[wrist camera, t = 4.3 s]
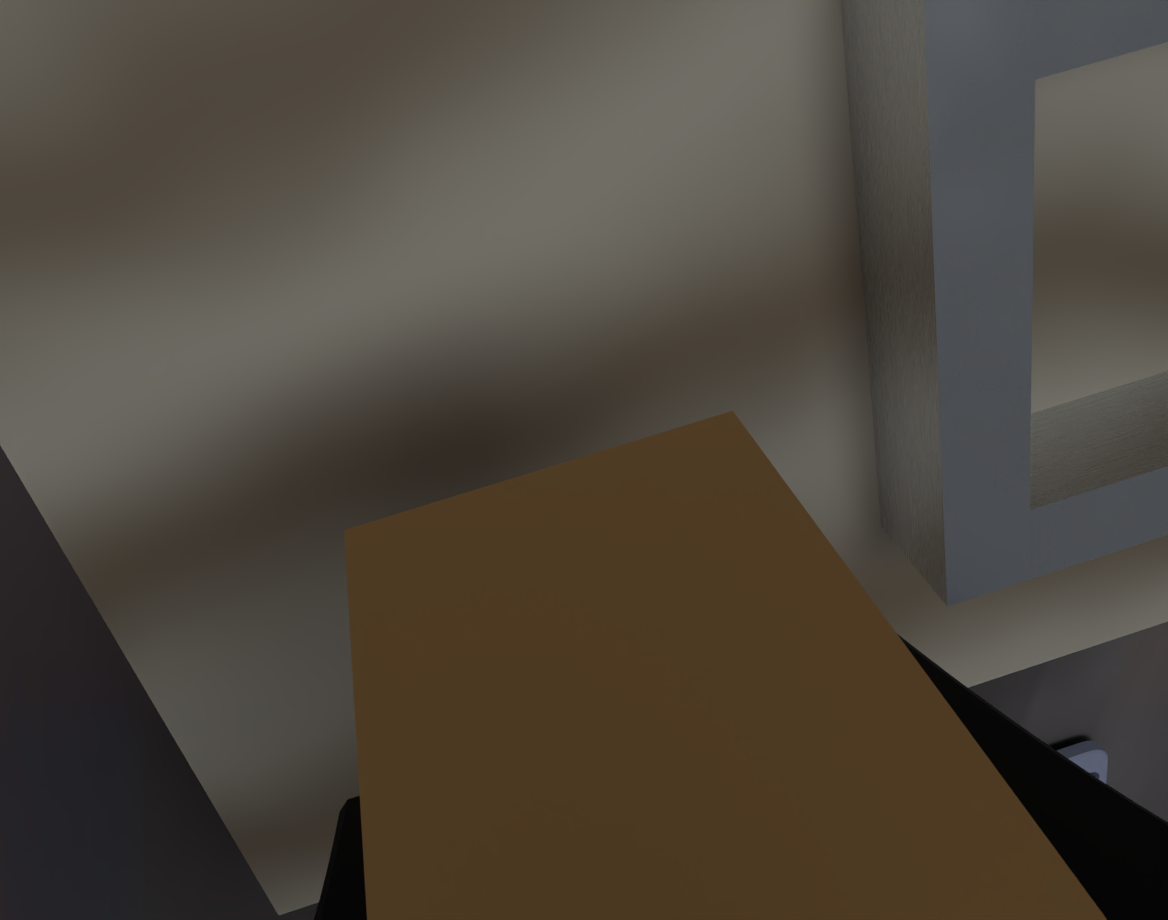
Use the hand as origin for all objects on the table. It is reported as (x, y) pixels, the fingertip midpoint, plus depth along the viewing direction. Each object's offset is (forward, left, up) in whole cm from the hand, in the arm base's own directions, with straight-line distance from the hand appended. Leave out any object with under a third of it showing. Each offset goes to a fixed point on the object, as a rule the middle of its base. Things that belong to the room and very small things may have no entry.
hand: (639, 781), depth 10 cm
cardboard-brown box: (0, 0, -2) cm, 2 cm away
